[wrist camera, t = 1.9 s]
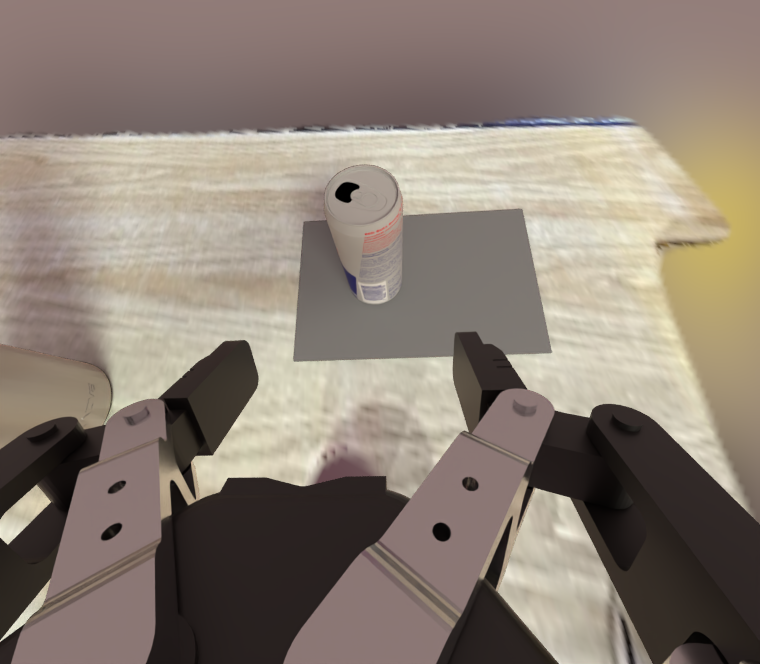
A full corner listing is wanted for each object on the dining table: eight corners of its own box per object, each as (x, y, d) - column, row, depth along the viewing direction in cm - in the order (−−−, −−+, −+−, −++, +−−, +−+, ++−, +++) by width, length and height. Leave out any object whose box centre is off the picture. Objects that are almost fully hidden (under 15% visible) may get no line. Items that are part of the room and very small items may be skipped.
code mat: (294, 361, 29) (293, 361, 29) (304, 223, 34) (303, 221, 34) (550, 353, 28) (552, 352, 27) (521, 210, 33) (522, 208, 32)
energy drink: (364, 252, 32) (345, 152, 21) (410, 270, 31) (417, 176, 20) (340, 293, 31) (305, 211, 19) (387, 314, 30) (379, 240, 18)
